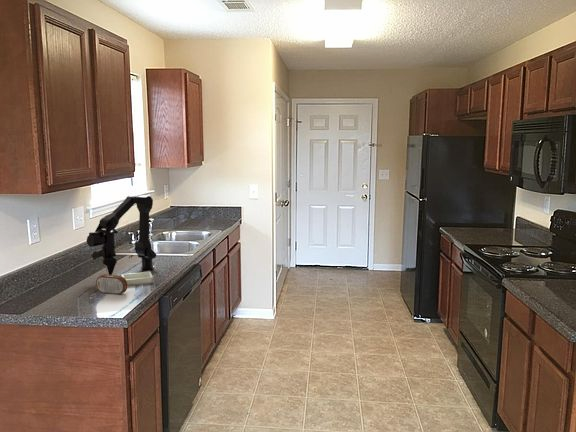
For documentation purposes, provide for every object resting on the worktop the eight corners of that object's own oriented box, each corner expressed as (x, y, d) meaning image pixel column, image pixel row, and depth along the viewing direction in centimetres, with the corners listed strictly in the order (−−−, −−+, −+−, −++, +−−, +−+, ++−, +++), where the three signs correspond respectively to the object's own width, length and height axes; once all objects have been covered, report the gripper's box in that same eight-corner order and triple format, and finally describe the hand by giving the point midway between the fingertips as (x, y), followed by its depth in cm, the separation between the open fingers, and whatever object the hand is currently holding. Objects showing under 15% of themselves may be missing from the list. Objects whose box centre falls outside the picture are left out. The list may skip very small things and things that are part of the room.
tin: (128, 293, 212) (127, 275, 211) (124, 295, 209) (123, 277, 208) (99, 291, 216) (98, 273, 215) (95, 293, 213) (94, 274, 212)
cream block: (106, 278, 237) (105, 260, 236) (114, 277, 239) (113, 260, 237) (106, 280, 233) (105, 262, 232) (114, 279, 235) (114, 262, 234)
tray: (121, 280, 234) (121, 274, 234) (150, 277, 239) (150, 271, 239) (122, 286, 223) (122, 280, 223) (153, 283, 228) (153, 277, 228)
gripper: (91, 241, 239) (93, 271, 241) (90, 248, 222) (92, 280, 224) (114, 239, 243) (116, 269, 245) (115, 246, 226) (117, 278, 228)
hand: (110, 274), depth 236 cm, fingers closed on cream block, 4 cm apart
